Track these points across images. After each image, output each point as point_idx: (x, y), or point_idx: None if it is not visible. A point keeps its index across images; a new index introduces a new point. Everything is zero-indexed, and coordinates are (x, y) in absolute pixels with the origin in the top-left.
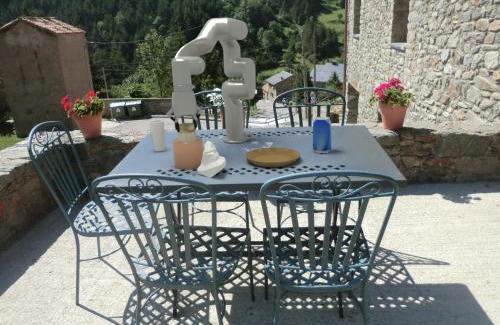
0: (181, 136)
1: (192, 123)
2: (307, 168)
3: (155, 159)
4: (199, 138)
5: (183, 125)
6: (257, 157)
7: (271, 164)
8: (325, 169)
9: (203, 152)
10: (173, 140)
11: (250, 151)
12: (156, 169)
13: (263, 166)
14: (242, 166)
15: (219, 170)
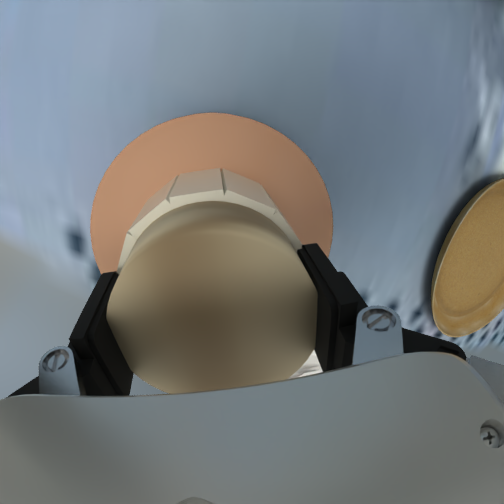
0: None
1: (306, 313)
2: (483, 331)
3: (52, 53)
4: (316, 221)
5: (182, 373)
6: (472, 219)
7: (449, 329)
8: (493, 340)
9: None
10: (97, 210)
11: (479, 198)
12: (62, 219)
13: (439, 306)
14: (400, 286)
15: None
